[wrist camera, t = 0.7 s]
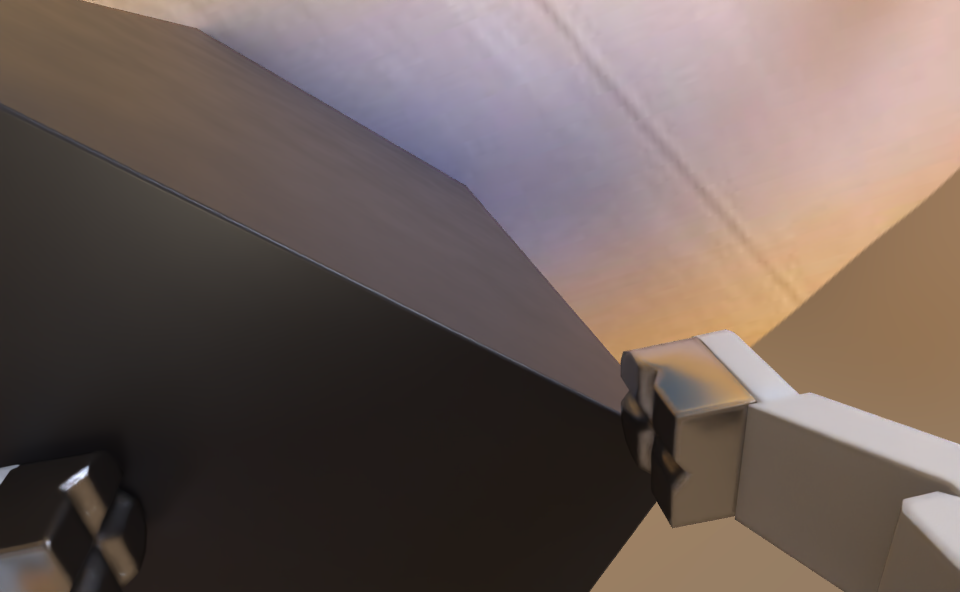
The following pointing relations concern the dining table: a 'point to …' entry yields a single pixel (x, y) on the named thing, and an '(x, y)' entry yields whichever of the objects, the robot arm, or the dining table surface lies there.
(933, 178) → the dining table surface
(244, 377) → the coffee maker
